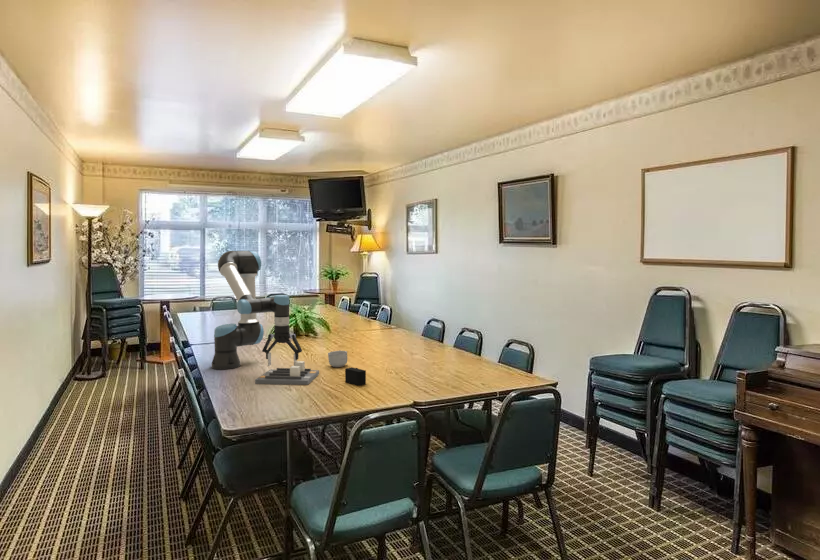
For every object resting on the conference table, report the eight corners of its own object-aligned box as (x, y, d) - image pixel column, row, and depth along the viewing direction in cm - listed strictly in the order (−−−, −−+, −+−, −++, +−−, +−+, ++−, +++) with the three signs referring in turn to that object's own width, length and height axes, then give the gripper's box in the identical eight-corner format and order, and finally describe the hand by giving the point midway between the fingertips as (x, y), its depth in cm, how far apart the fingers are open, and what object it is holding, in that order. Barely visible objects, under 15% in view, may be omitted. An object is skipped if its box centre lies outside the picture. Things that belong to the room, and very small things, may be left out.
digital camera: (367, 384, 246) (367, 369, 246) (359, 386, 242) (359, 371, 242) (353, 380, 253) (353, 366, 253) (345, 382, 249) (345, 368, 249)
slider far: (294, 372, 260) (294, 362, 259) (297, 370, 264) (297, 361, 263) (302, 372, 259) (302, 362, 259) (304, 370, 263) (304, 361, 263)
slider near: (289, 377, 249) (289, 367, 248) (292, 375, 253) (292, 365, 252) (297, 377, 248) (297, 367, 248) (300, 375, 252) (300, 366, 252)
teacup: (343, 368, 279) (343, 354, 278) (325, 367, 281) (325, 353, 280) (351, 363, 292) (351, 349, 292) (333, 362, 294) (333, 348, 294)
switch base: (255, 383, 246) (255, 377, 246) (270, 373, 268) (270, 367, 268) (307, 384, 244) (307, 378, 244) (319, 374, 266) (319, 368, 266)
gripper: (255, 325, 258) (256, 366, 259) (303, 326, 256) (304, 367, 257) (260, 323, 265) (261, 363, 266) (307, 324, 264) (308, 364, 265)
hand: (282, 365), depth 262 cm, fingers open, 13 cm apart
